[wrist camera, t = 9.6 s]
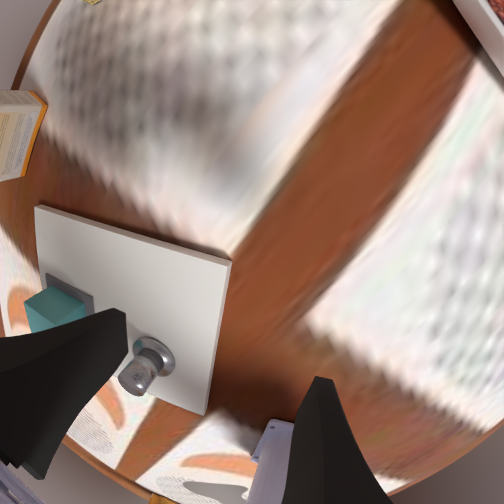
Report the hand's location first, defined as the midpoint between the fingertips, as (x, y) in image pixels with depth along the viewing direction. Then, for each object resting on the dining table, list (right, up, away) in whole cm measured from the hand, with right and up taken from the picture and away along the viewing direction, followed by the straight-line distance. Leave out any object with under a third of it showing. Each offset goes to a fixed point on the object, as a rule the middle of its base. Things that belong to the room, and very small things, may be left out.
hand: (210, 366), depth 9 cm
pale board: (-11, -1, +13) cm, 17 cm away
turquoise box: (-16, -2, +13) cm, 21 cm away
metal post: (-7, -4, +13) cm, 15 cm away
